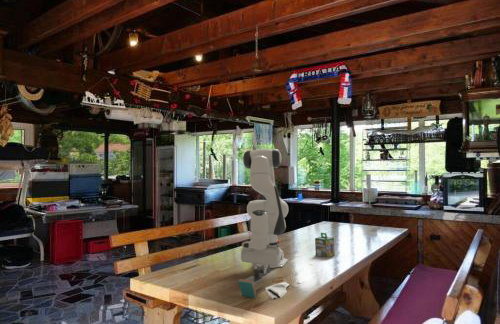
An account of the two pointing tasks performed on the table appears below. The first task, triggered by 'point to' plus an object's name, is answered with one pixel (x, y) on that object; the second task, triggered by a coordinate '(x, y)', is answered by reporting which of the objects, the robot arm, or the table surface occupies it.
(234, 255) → the table surface
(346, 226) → the table surface
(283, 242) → the table surface
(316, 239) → the chalk box
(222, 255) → the table surface
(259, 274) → the turner
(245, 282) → the tile
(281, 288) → the cloth
